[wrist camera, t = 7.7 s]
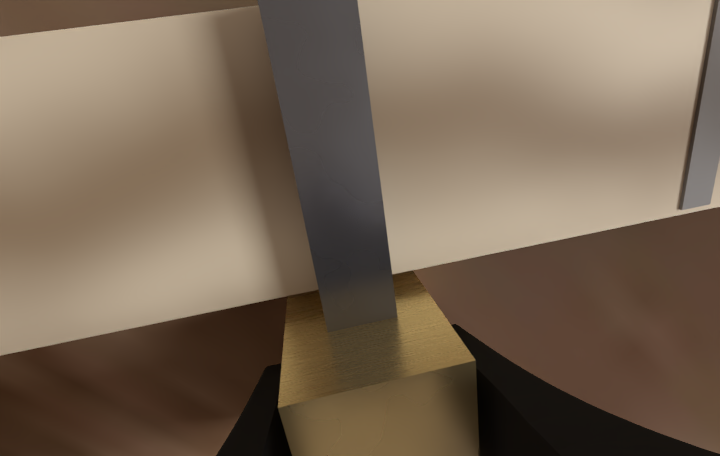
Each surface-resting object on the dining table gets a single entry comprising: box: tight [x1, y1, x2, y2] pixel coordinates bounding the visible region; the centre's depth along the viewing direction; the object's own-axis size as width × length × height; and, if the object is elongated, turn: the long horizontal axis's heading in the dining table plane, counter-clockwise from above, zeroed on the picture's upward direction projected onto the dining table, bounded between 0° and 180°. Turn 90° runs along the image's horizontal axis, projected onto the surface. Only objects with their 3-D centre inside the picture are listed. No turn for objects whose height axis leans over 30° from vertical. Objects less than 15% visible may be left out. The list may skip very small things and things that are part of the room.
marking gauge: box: [258, 0, 480, 456], centre depth 9 cm, size 12×4×5 cm, turn 9°
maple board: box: [0, 0, 720, 356], centre depth 9 cm, size 7×28×2 cm, turn 99°
